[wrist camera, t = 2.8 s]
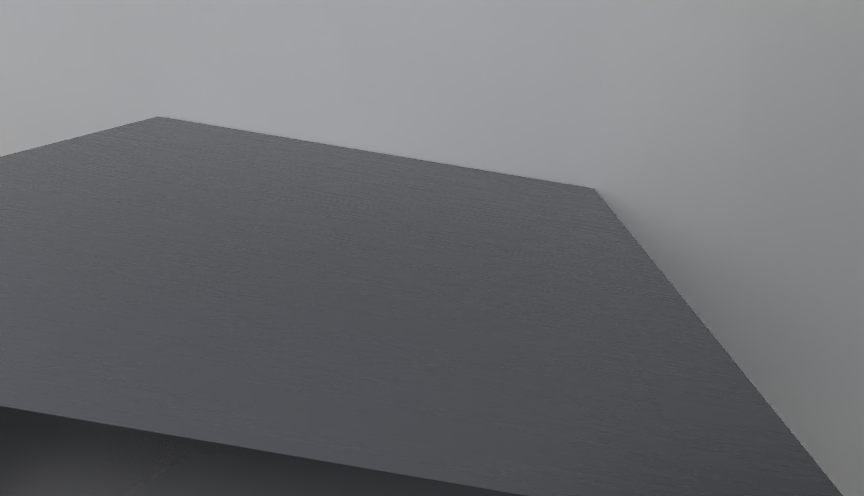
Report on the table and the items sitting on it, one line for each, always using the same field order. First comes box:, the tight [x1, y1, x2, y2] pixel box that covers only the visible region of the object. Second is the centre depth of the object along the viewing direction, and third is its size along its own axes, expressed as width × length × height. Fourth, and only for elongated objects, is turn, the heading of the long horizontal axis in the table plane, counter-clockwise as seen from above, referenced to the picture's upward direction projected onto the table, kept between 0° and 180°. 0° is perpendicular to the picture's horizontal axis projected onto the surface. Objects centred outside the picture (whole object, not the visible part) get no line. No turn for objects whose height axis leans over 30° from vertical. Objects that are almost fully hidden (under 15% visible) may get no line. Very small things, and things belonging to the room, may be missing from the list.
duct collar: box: [0, 117, 843, 496], centre depth 6 cm, size 7×7×6 cm
